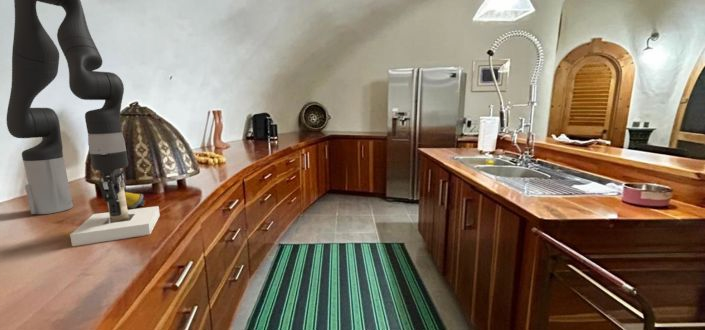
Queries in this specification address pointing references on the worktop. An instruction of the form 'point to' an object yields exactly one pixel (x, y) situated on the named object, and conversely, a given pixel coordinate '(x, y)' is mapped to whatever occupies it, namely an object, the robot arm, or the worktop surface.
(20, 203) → the worktop surface
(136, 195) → the drill bit
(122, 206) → the wooden peg
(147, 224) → the socket board
